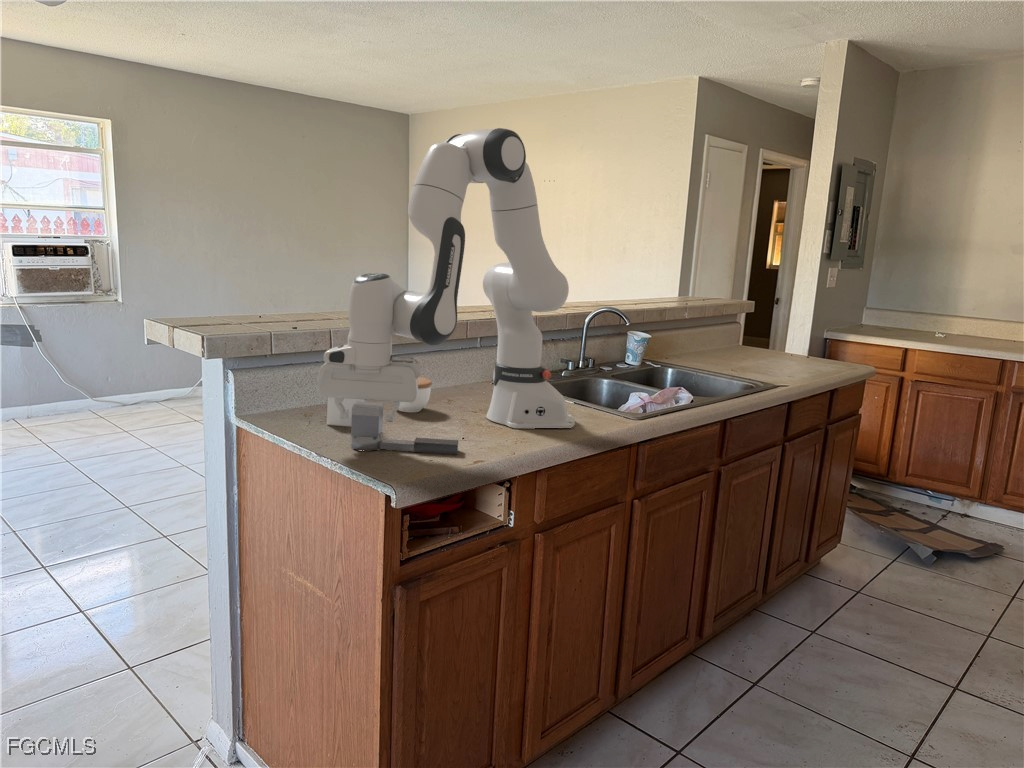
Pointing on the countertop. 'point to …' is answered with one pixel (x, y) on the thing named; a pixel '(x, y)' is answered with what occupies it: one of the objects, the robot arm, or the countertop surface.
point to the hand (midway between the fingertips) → (367, 420)
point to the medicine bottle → (334, 412)
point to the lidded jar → (422, 398)
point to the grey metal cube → (367, 419)
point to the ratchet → (406, 445)
